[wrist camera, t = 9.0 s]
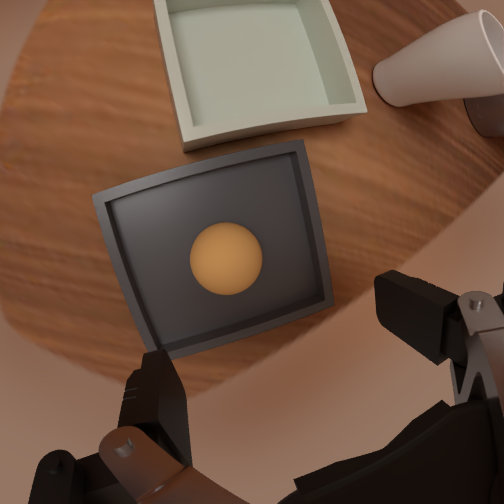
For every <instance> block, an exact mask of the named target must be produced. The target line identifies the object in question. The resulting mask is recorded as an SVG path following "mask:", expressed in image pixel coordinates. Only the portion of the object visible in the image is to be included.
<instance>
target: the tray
mask: <svg viewBox="0 0 504 504" xmlns="http://www.w3.org/2000/svg"><path fill="white" fill-rule="evenodd" d="M92 198H93V202H94V206H95V210H96V213H97V217H98V220H99V224H100V227H101V230H102V234H103V237H104V240H105V243H106V246H107V250H108V253H109V256H110V259H111V262H112V264H113V267H114V270H115V273H116V276H117V278H118V281H119V284H120V287H121V289H122V292H123V294H124V297H125V300H126V302H127V305H128V307H129V310H130V312H131V314H132V317H133V319H134V322H135V324H136V326H137V329H138V331H139V333H140V335H141V338H142V340H143V342H144V344H145V346H146V349H147V351H148V352H151V351H155V350H159V349H163V348H164V349H165V350H166V351H167V353H168V355H169V357H170V359H171V360H173V359H177V358H180V357H184V356H187V355H191V354H194V353H198V352H201V351H205V350H208V349H211V348H215V347H218V346H221V345H224V344H228V343H231V342H234V341H237V340H240V339H243V338H246V337H249V336H252V335H255V334H258V333H261V332H264V331H267V330H270V329H273V328H276V327H278V326H281V325H284V324H287V323H290V322H292V321H295V320H298V319H300V318H303V317H306V316H308V315H311V314H314V313H316V312H319V311H321V310H324V309H326V308H329V307H332V306H334V305H335V304H334V297H333V290H332V283H331V276H330V270H329V264H328V258H327V252H326V246H325V240H324V235H323V229H322V224H321V219H320V213H319V208H318V203H317V198H316V194H315V189H314V184H313V180H312V175H311V171H310V166H309V162H308V157H307V153H306V149H305V145H304V141H303V139H301V140H295V141H289V142H284V143H278V144H273V145H268V146H263V147H258V148H253V149H249V150H244V151H239V152H235V153H231V154H226V155H222V156H218V157H214V158H210V159H206V160H202V161H198V162H194V163H191V164H187V165H183V166H180V167H176V168H173V169H169V170H166V171H162V172H159V173H156V174H152V175H149V176H146V177H143V178H140V179H137V180H133V181H130V182H127V183H124V184H121V185H119V186H116V187H113V188H110V189H107V190H104V191H101V192H99V193H96V194H93V195H92ZM223 222H229V223H235V224H238V225H241V226H243V227H245V228H246V229H248V230H249V231H250V232H251V233H252V234H253V235H254V236H255V237H256V239H257V240H258V242H259V245H260V247H261V251H262V266H261V270H260V273H259V275H258V277H257V279H256V280H255V281H254V283H253V284H252V285H251V286H249V287H248V288H247V289H245V290H244V291H242V292H239V293H237V294H232V295H221V294H216V293H213V292H211V291H209V290H207V289H205V288H204V287H203V286H202V285H201V284H200V283H199V282H198V281H197V280H196V278H195V276H194V275H193V272H192V269H191V265H190V253H191V248H192V245H193V243H194V241H195V239H196V238H197V236H198V235H199V234H200V233H201V232H202V231H203V230H205V229H206V228H207V227H209V226H211V225H214V224H217V223H223Z"/></svg>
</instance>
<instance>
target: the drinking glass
mask: <svg viewBox="0 0 504 504" xmlns="http://www.w3.org/2000/svg"><path fill="white" fill-rule="evenodd" d="M373 82H374V85H375V88H376V90H377V92H378V93H379V95H380V96H381V97H382V98H383V99H384V100H385V101H386V102H387V103H389V104H391V105H393V106H396V107H404V106H408V105H411V104H417V103H424V102H431V101H440V100H450V99H463V98H477V97H487V96H495V95H501V94H504V28H503V26H502V25H501V24H500V23H499V21H498V20H497V19H496V18H495V17H494V16H493V15H492V14H491V13H489V12H488V11H486V10H478V11H475V12H471V13H468V14H465V15H462V16H459V17H457V18H454V19H452V20H450V21H448V22H446V23H444V24H442V25H440V26H438V27H436V28H435V29H433V30H431V31H430V32H428V33H426V34H425V35H423V36H422V37H420V38H418V39H417V40H415V41H413V42H412V43H410V44H409V45H407V46H405V47H404V48H402V49H401V50H399V51H398V52H396V53H394V54H393V55H391V56H390V57H388V58H386V59H384V60H382V61H380V62H379V63H377V64H376V66H375V67H374V70H373Z"/></svg>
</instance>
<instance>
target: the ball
mask: <svg viewBox="0 0 504 504" xmlns="http://www.w3.org/2000/svg"><path fill="white" fill-rule="evenodd" d="M190 265H191V269H192V272H193V275H194V276H195V278H196V280H197V281H198V282H199V283H200V284H201V285H202V286H203V287H204V288H205V289H207V290H209V291H211V292H213V293H216V294H221V295H232V294H237V293H239V292H242V291H244V290H245V289H247V288H248V287H249V286H251V285H252V284H253V283H254V281H255V280H256V279H257V277H258V275H259V273H260V270H261V266H262V251H261V247H260V245H259V242H258V240H257V239H256V237H255V236H254V235H253V234H252V233H251V232H250V231H249V230H248V229H246V228H245V227H243V226H241V225H238V224H235V223H229V222H223V223H217V224H214V225H211V226H209V227H207V228H206V229H205V230H203V231H202V232H201V233H200V234H199V235H198V236H197V238H196V239H195V241H194V243H193V245H192V248H191V253H190Z"/></svg>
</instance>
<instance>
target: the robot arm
mask: <svg viewBox="0 0 504 504" xmlns="http://www.w3.org/2000/svg"><path fill="white" fill-rule="evenodd" d="M464 100H465V105H466V109H467V112H468V114H469V117H470V119H471V121H472V123H473V125H474V127H475V128H476V130H477V131H478V132H479V133H480V134H481V135H482V136H484V137H500V136H504V94H501V95H495V96H487V97H477V98H464ZM374 288H375V300H376V314H377V317H378V320H379V322H380V323H381V325H382V326H383V327H385V328H386V329H387V330H389V331H390V332H392V333H393V334H394V335H396V336H397V337H399V338H400V339H401V340H403V341H404V342H406V343H407V344H408V345H410V346H411V347H413V348H414V349H415V350H417V351H418V352H419V353H421V354H422V355H423V356H425V357H426V358H428V359H429V360H430V361H432V362H433V363H434V364H436V365H437V366H438V365H439V364H440V363H442V362H443V361H445V360H446V359H448V358H450V359H451V362H450V372H451V378H452V385H453V391H454V399H455V405H454V406H451V407H450V406H449V405H448V404H446V403H445V402H444V401H443V400H441V401H440V402H438V403H437V404H435V405H434V406H433V407H431V408H430V409H428V410H427V411H426V412H424V413H423V414H421V415H420V416H418V417H417V418H415V419H414V420H412V421H411V422H410V423H409V425H407V426H406V427H405V428H404V429H403V430H402V432H400V433H399V434H398V435H397V436H396V437H395V438H394V439H393V440H392V441H391V442H390V443H389V444H388V445H387V446H385V447H384V448H383V449H381V450H378V451H375V452H372V453H368V454H365V455H361V456H358V457H355V458H351V459H347V460H343V461H339V462H335V463H333V464H331V465H328V466H326V467H324V468H321V469H319V470H317V471H314V472H311V473H309V474H306V475H304V476H301V477H298V478H296V479H294V482H295V485H296V488H297V490H296V491H294V492H292V493H291V494H289V495H288V496H286V497H285V498H284V499H282V500H281V501H280V502H279V503H278V504H504V283H503V292H502V294H500V295H497V296H495V297H492V296H491V295H490V294H487V293H485V292H481V291H471V292H467V293H464V294H463V295H461V296H458V295H456V294H453V293H451V292H449V291H447V290H444V289H442V288H440V287H436V286H435V285H433V284H431V283H429V284H428V282H426V281H423V280H422V279H419V278H414V277H409V276H407V275H405V274H402V273H400V272H398V271H395V270H390V271H387V272H385V273H383V274H380V275H378V276H376V277H375V279H374ZM28 504H250V503H248V502H246V501H244V500H243V499H241V498H239V497H237V496H236V495H234V494H233V493H231V492H229V491H228V490H226V489H224V488H223V487H221V486H220V485H218V484H216V483H215V482H214V481H212V480H211V479H209V478H208V477H206V476H205V475H203V474H202V473H200V472H199V471H197V470H196V469H195V468H193V465H192V456H191V446H190V436H189V425H188V414H187V399H186V394H185V390H184V387H183V384H182V382H181V380H180V378H179V376H178V374H177V372H176V370H175V368H174V366H173V363H172V361H171V359H170V357H169V355H168V353H167V351H166V350H165V349H164V348H163V349H159V350H155V351H151V352H148V353H144V355H143V359H142V365H141V369H137V370H134V371H133V373H132V374H131V375H130V377H129V378H128V379H127V382H126V387H125V392H124V396H123V401H122V406H121V411H120V416H119V421H118V427H117V429H114V430H112V431H111V432H109V433H108V434H107V435H106V436H105V437H104V438H103V439H102V441H101V443H100V445H99V452H98V453H95V454H93V455H90V456H87V457H84V458H81V459H78V460H76V459H75V458H74V457H73V456H72V454H71V453H69V452H68V451H65V450H55V451H52V452H50V453H48V454H47V455H45V456H44V457H43V458H42V459H41V460H40V462H39V464H38V466H37V469H36V473H35V477H34V481H33V485H32V489H31V493H30V497H29V502H28Z"/></svg>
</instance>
